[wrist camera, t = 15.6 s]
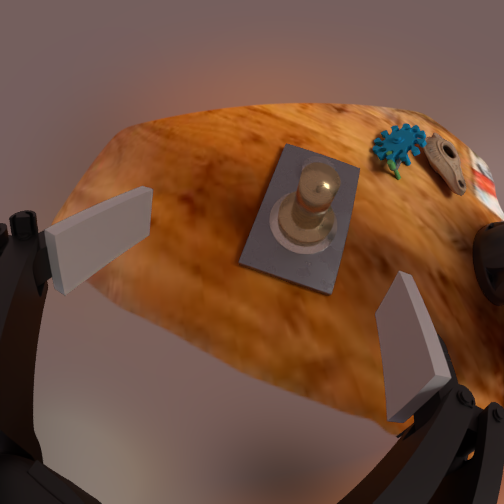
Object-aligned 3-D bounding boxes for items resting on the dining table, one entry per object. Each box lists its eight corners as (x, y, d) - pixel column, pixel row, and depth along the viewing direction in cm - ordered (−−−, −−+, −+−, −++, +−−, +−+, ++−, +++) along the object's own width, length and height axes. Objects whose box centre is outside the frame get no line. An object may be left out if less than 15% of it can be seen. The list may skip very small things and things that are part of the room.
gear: (382, 121, 41) (430, 120, 33) (394, 145, 44) (439, 148, 36) (359, 159, 40) (412, 162, 32) (373, 184, 43) (423, 191, 35)
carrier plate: (357, 172, 39) (362, 164, 37) (328, 295, 33) (334, 292, 31) (285, 148, 40) (286, 138, 38) (239, 264, 34) (238, 259, 32)
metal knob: (335, 207, 35) (358, 164, 26) (323, 254, 33) (348, 220, 24) (286, 191, 36) (296, 143, 27) (270, 236, 34) (276, 195, 25)
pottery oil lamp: (440, 203, 37) (444, 170, 32) (414, 162, 45) (414, 132, 39) (477, 195, 35) (484, 164, 29) (448, 157, 42) (450, 128, 37)
